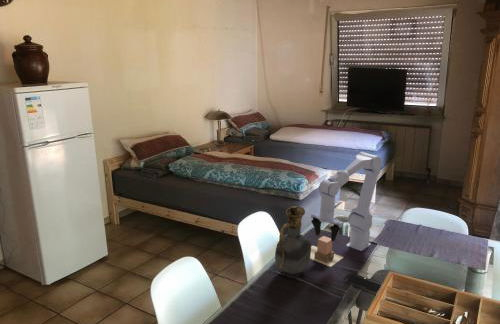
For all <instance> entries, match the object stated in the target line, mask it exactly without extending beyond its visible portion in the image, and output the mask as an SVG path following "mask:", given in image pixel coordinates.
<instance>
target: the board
mask: <svg viewBox="0 0 500 324" xmlns="http://www.w3.org/2000/svg"><path fill="white" fill-rule="evenodd" d="M317 247H318V246H317V245H316V246H315V245H311V255H310V260H312V261H315V262H317V263H320V264H322V265H325V266H327V267H330V268H332V267H333V266H334V265H336V264H337V263H338V262H340V261H341V260H342V259H344V256H342V255H339V254H338V253H337V254H336V253H334V258H333V259H331V260H330V261H329V262H327V263H325V262H323V261H320V260H318V259H315V258H314V257H315V252H316V251H317Z"/></svg>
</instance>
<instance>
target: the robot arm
mask: <svg viewBox="0 0 500 324" xmlns="http://www.w3.org/2000/svg"><path fill="white" fill-rule="evenodd" d="M383 163H384V162H383V159H382V158H381V156H380V155H374V154H370V153H368V152H365V151H360V152H359V153H358V154H356V155H355V158H354V160H353V161H352V162H351V163H350V164H349V165H348V166H347V167H346V168H345V169H344V170H342V169H340V170H337V171H336V173H334V174H333V175H332V176H331V177H329V178H328V179H323V180H322V181H321V182H320V183H319V185H318V191H319V193H320V194H319V196H320V208H319V209H320V212H319V213H316V212H312V213H311V214H310V219H311V223H312V225H313V229H314V231H315V235H316V236H319V235H321V229H322V228H321V226H322V223H327V224H330V225H331V227H330V233H331V234H330V236H331V237H330V238H331V241H332V242H334V241H336V238H337V236H338V233H339V231H340V230H341V228H342V227H344V226H343V225H344V221H341V220H339V219H337V218H336V217H334V216H335V203H336V202H335V201H336V196H337V194H338V193H339V191H340V190H341V189H342V187H343V186H344V185H346V183H347V182H349V181H350V177H351V176H352V175H354V174H356V173H358V172H359V171H360V170H363V171H364V173H365V176H364V180H363V182H362V183H363V184H362V188H361V190H360V194H359V198H358V202H357V205H356V207H354V208H352V209H351V211H350V213H349V215H348V216H347V222H348V225H349V227H350V235H349V237H350V238H349V242H348V243H347V244H346V246H347V247H350V248H352V249H355V250H357V251H360V252H361V251H364V250H366V249H367V248H368V247H370V246H371V242H370V235H371V231H370V230H371V228H372V225H373V218H374V217H373V214H372V213H371V211H370V207H371V204H372V200H373V196H374V193H375V188H376V186H377V185H376V184H377V181H378V177H379V175H380V172H381V170H382V166H383Z"/></svg>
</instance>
